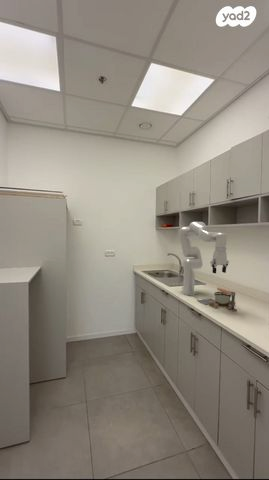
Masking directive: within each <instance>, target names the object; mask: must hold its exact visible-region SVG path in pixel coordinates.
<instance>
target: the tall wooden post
mask: <svg viewBox="0 0 269 480" xmlns="http://www.w3.org/2000/svg"><path fill="white" fill-rule="evenodd" d="M216 288H217V289H216V290H217V291H218V292H224V293H227V294H230V295H231V297H232V296H235V297H236V292H235V291H232V290H229V289H226V288H222V287H220V286H218V287H216Z"/></svg>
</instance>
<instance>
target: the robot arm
mask: <svg viewBox="0 0 269 480" xmlns="http://www.w3.org/2000/svg"><path fill="white" fill-rule="evenodd" d="M197 236H198V237H199V239H200V240H201V241H203V242H205V243H215V245H214V251H213V255H212V260H211V261H210V266H211V268H212V273H213V274H217V267H218V266H222V267H221V272H222V273H224V274H226V273H227V267H228V265H229V263H230V261H229V260H228V258H227V257H228V256H227V241H228V240H227V239H228V238H227V237H228V236H227V233H225V232H215V231H214V232H213V231H208V229H207V225H206V224H205V223H204V222H203V221H192V222H190V224H189V225H188V226H184V227H183V226H182V227H181V228H179V230H178V238H179V242H180V245H181V249H182V254H183V255H182V256H183V257H185V259H184V260H183V262H182V265H183V286H182V287H181V292H180V293H181V294H182V295H186V296H195V295H196V294H197V293H196V291H195V279H196V278H195V276H196V274H195V271H194V270H197V269H201V268H202V267H203V259H202V254H201V250H200V248H199V247H197V246H192V242H191V240H190V239H189V238H188V237H197Z"/></svg>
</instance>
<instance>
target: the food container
mask: <svg viewBox="0 0 269 480" xmlns="http://www.w3.org/2000/svg"><path fill="white" fill-rule="evenodd" d="M213 295H214V300H215V303H217V304H219V307H222V308H225V306H228V307H230V305H229V303H230V300H231V298H232V296H231V295H230V294H227V293H224V292H221V291H215V292H214V294H213Z"/></svg>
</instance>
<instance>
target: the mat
mask: <svg viewBox="0 0 269 480" xmlns="http://www.w3.org/2000/svg"><path fill="white" fill-rule="evenodd" d="M196 301H197V302H198V303H200V304H202V305H205V306H209V305H208V301H212V302H214V303H215V298H206V299H197V300H196Z"/></svg>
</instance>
